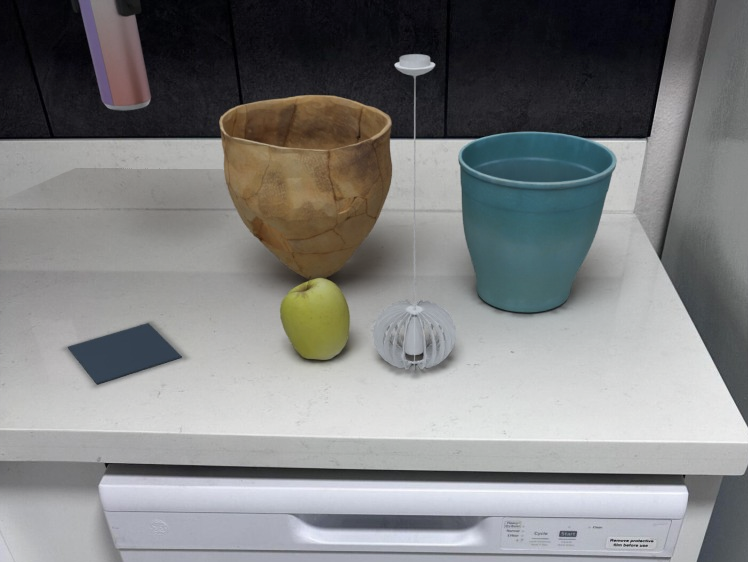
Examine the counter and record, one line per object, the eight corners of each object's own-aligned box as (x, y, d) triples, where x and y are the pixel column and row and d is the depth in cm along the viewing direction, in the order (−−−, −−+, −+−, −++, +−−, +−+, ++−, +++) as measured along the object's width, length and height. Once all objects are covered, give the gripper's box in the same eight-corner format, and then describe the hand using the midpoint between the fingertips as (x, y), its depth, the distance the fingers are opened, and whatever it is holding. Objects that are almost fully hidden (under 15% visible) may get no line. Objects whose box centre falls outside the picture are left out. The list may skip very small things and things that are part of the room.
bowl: (418, 262, 110) (419, 103, 96) (351, 325, 96) (341, 151, 83) (289, 238, 116) (273, 87, 103) (209, 295, 103) (179, 128, 89)
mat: (67, 348, 93) (67, 346, 92) (148, 324, 97) (148, 322, 97) (96, 384, 86) (96, 383, 86) (181, 357, 91) (181, 356, 91)
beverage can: (93, 109, 98) (57, -40, 88) (120, 97, 102) (89, -46, 92) (135, 113, 96) (104, -38, 86) (161, 100, 100) (133, -45, 90)
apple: (374, 338, 91) (350, 266, 83) (325, 381, 89) (296, 311, 81) (330, 316, 96) (303, 246, 88) (282, 356, 93) (250, 288, 85)
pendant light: (356, 358, 90) (341, 58, 70) (413, 330, 95) (414, 42, 75) (414, 389, 85) (415, 75, 65) (471, 358, 90) (489, 57, 70)
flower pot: (591, 333, 94) (616, 186, 83) (442, 320, 97) (447, 176, 85) (595, 270, 107) (617, 135, 96) (463, 260, 110) (469, 128, 98)
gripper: (-29, -196, 80) (28, 13, 92) (107, -198, 75) (148, 23, 87) (24, -195, 85) (71, 3, 98) (155, -197, 80) (187, 12, 92)
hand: (107, 11), depth 92 cm, fingers closed on beverage can, 6 cm apart
